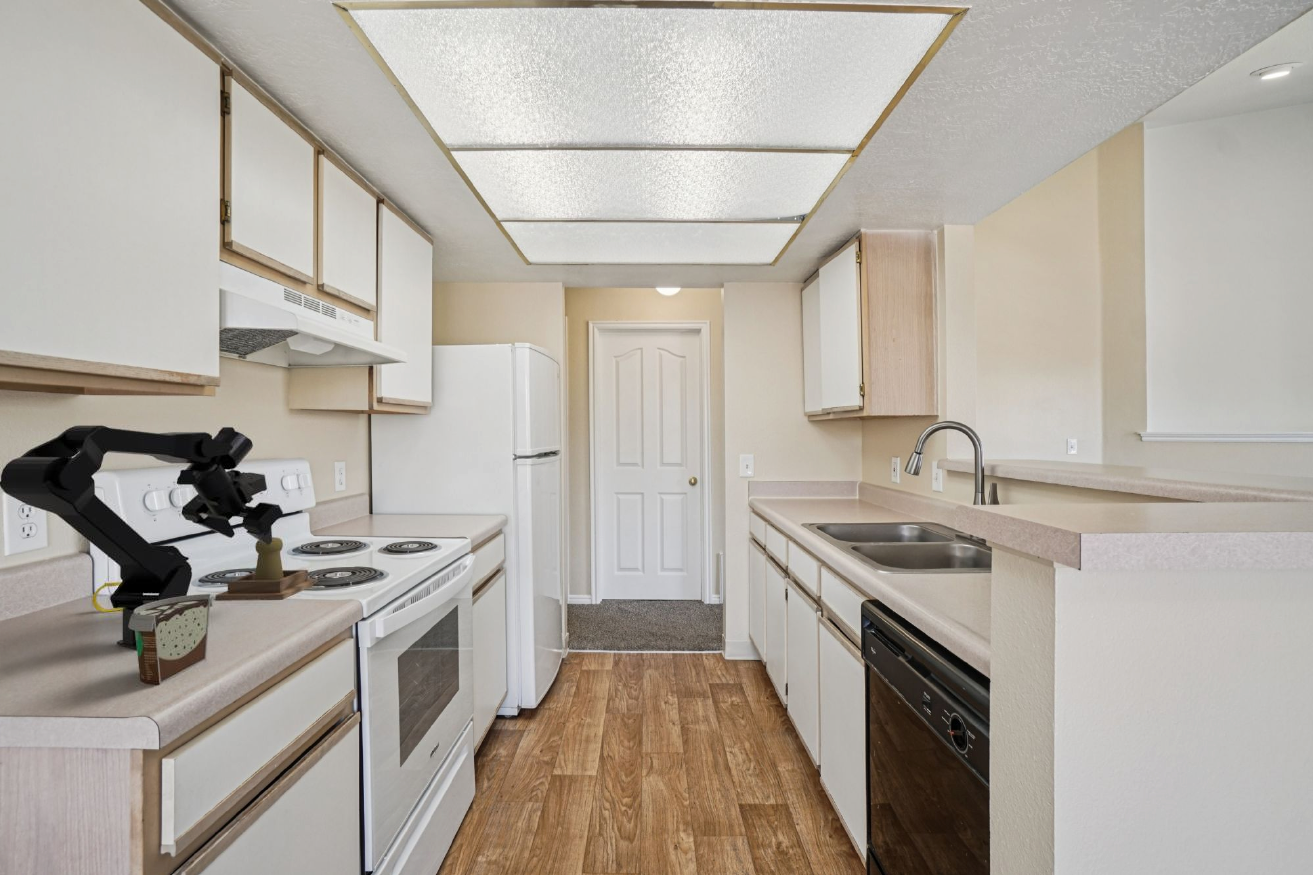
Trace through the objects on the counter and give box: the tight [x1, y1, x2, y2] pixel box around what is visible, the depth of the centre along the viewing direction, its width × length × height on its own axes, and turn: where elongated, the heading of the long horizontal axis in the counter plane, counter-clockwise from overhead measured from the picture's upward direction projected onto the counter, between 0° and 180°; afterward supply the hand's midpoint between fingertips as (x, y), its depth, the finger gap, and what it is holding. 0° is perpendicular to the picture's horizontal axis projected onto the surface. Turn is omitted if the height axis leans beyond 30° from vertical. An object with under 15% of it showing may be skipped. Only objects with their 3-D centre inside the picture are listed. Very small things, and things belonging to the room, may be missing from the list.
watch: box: [91, 579, 123, 613], centre depth 118 cm, size 6×3×6 cm, turn 123°
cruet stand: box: [215, 569, 319, 601], centre depth 133 cm, size 14×14×4 cm
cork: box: [254, 536, 284, 580], centre depth 133 cm, size 6×6×11 cm
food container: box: [128, 593, 214, 686], centre depth 87 cm, size 12×6×10 cm, turn 4°
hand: (251, 539), depth 124 cm, fingers open, 9 cm apart
